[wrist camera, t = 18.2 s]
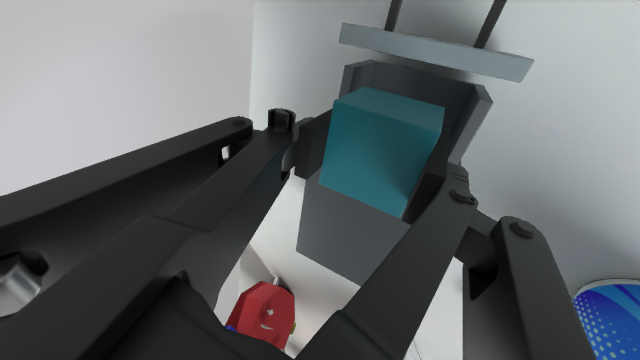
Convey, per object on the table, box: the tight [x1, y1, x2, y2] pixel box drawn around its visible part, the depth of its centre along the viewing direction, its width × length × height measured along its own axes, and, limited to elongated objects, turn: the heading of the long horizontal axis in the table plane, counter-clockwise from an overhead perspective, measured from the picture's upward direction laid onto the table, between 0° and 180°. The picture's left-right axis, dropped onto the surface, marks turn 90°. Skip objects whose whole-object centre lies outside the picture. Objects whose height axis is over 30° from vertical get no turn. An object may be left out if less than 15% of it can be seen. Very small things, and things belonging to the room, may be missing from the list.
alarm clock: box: [224, 277, 295, 353], centre depth 46 cm, size 15×9×20 cm, turn 13°
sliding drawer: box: [339, 0, 534, 165], centre depth 19 cm, size 20×11×7 cm, turn 170°
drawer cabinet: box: [296, 160, 461, 287], centre depth 26 cm, size 15×13×9 cm
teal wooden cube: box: [319, 86, 445, 218], centre depth 14 cm, size 5×5×5 cm
